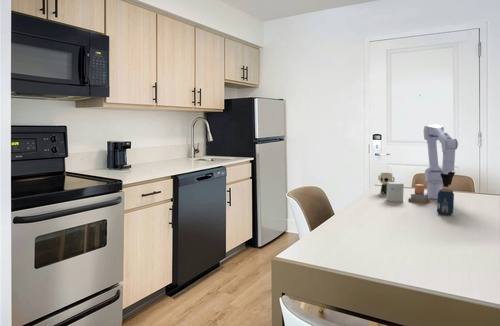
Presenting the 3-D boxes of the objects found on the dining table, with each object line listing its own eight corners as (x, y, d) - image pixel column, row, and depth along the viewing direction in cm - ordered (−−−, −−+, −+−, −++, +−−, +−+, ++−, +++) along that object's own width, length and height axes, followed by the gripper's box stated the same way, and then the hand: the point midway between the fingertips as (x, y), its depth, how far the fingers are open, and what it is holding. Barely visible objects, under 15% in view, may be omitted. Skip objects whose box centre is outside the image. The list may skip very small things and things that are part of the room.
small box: (400, 199, 209) (400, 182, 207) (403, 201, 203) (404, 183, 202) (386, 199, 209) (386, 181, 208) (388, 201, 204) (389, 183, 203)
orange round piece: (418, 192, 207) (418, 183, 206) (425, 194, 203) (426, 185, 202) (412, 193, 204) (413, 184, 204) (420, 194, 200) (420, 186, 200)
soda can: (447, 212, 178) (448, 189, 177) (455, 216, 171) (457, 191, 170) (433, 212, 178) (435, 189, 177) (441, 216, 171) (443, 191, 170)
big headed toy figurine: (374, 193, 229) (375, 173, 228) (380, 191, 234) (381, 172, 232) (390, 195, 221) (391, 174, 219) (396, 194, 225) (397, 173, 224)
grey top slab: (415, 196, 209) (415, 192, 208) (427, 198, 204) (428, 193, 204) (410, 198, 204) (411, 193, 203) (423, 199, 199) (424, 195, 199)
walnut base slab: (414, 200, 210) (414, 195, 210) (430, 202, 204) (430, 198, 204) (408, 202, 204) (408, 198, 204) (424, 204, 198) (425, 200, 197)
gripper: (442, 159, 202) (441, 183, 203) (437, 161, 190) (436, 186, 192) (457, 160, 197) (455, 184, 199) (452, 162, 186) (451, 188, 187)
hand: (447, 185), depth 195 cm, fingers open, 7 cm apart
